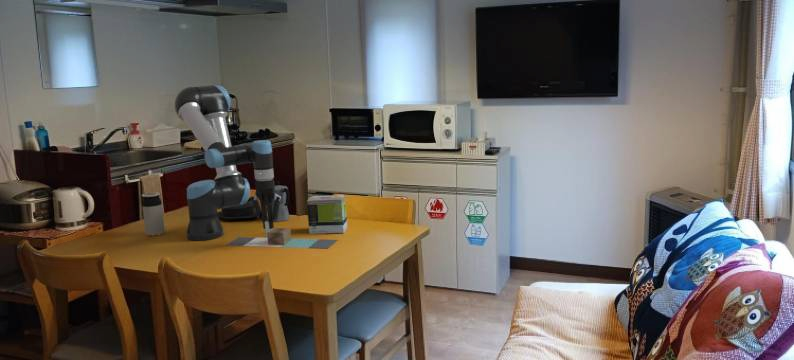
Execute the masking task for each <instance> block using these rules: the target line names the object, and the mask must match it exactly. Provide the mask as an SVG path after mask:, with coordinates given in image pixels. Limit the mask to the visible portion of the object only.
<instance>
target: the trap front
mask: <svg viewBox="0 0 794 360" xmlns="http://www.w3.org/2000/svg"><path fill="white" fill-rule="evenodd" d="M318 239H319V240H318V241H316V242H315V243H314V244H313V245H311V246H310V247H309V248H308V249H320V250H321V249H323V250H327V249H330V247H332V246H334V244H336V242H338V241H339V240H338V239H328V238H327V239H324V238H321V239H320V238H318Z"/></svg>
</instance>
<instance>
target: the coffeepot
mask: <svg viewBox="0 0 794 360" xmlns="http://www.w3.org/2000/svg"><path fill="white" fill-rule="evenodd" d="M275 192H276V194H277V195H278V196H282V198H281V200H280V203H279V210H278V217H277V219H275V220H273V223H281V222H286V221H290V220H291V218H290V214H289V209H288V205H289V199H290V191H289V187H287V186H286V185H280V181H275ZM272 201H273V203H272V208H273V209H274V203H275V197H274V199H273V200H272Z"/></svg>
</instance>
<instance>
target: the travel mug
mask: <svg viewBox="0 0 794 360" xmlns="http://www.w3.org/2000/svg"><path fill="white" fill-rule="evenodd" d="M160 194H161V193H160V192H146V193H143V194H141V197H142V201H141V207H142V215H143V222H144V223H143V225H144V233H145V236H147V235H159V234H162V235H164V234H165V233H164V232H166V229H165V223H164V222H165V221H164V214H163V204H162V203H163V202H162V199H161V198H160ZM163 233H164V234H163ZM159 236H160V235H159Z"/></svg>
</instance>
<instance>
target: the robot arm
mask: <svg viewBox="0 0 794 360" xmlns="http://www.w3.org/2000/svg"><path fill="white" fill-rule="evenodd" d="M174 109H175V113H176V115H177V116H178V118H179V120H182V121H183V122H185V124H186V125H187V127H188V128H189V129H190V131H191V133H192V134H193V135H194V137H195V138H196V139H197V141H198V142H199V144H200V146H202V148H203V150H204V161H205V164H206V166H207V167H208V168H210V169H215V171H216V176H215V178H214V179H205V180H199V181H196V182H193V183H191V184H189V185H188V186H187V188H186V199H187V207H188V218H189V221H188V225H187V226H188V227H187V230H186V239H187V238H188V240H190V241H208V240H213V239H217V238H221V237H223V236H224V228H223V225H222V223H221V221H220V219H219V218H220V217H218V213H217V212H218V210H221V209H223V208H229V207H234V206H239V205H243V204H245V203H246V202H247V201H248V199H249V198H250V199H251V200H252V202H253V204H254V207H255V210H256V214H257V217H256V218H257V220H258V221H262V227H263V229H264V231H265V238H267V232H269V231H270V230H272V229H273V228H274V222H273V220H275V219H277V217H278V210H279V203H280V200H281V198H282V196H278V195H277V194H276V192H275V186H276V183H275V179H274V178H275V175H274V174H275V173H274V161H273V159H274V158H273V149H272V142H271V141H270V140H268V139H266V140H265V139H261V140H260V139H259V140H254V141H252V142H251V143H241V144H240V145H234V146H233V145H232V142H231V137H230V133H229V128H228V125H227V119H226V117H227V116H228V114H229V112H228V111H229V110H230V109H231V97H230V95H229V92H228V91H227V89H226V88H225V87H223V86H222V85H213V84H211V85H203V86H202V85H201V86H189V87H185V88H184V89H183V88H182V90H180V91H179V92H178V94H177V96H176V97H175V99H174ZM246 164H253V172H254V180H255V181H254V183H255V185H254V186H255V194H254V195H252V196H250V195H251V187H250V183H249V180H248V179H247V178H245V177H243V175H242V172H240V171H238V169H237V166H238V165H246ZM274 197H275V203H274V209H273V208H272V203H273V201H272V200H273V199H274Z"/></svg>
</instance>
